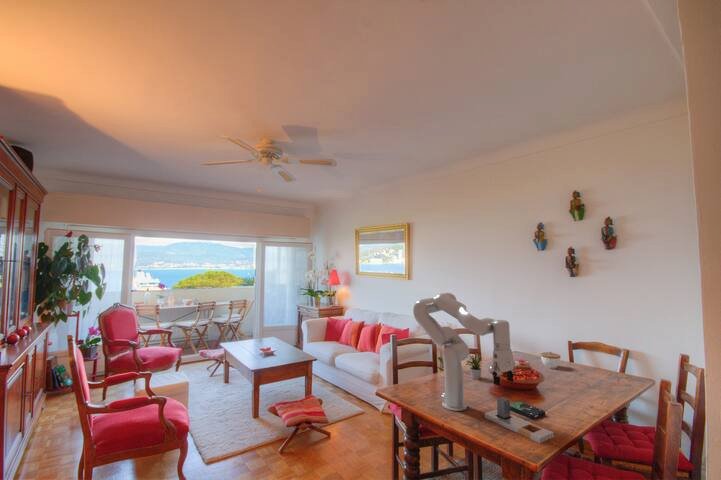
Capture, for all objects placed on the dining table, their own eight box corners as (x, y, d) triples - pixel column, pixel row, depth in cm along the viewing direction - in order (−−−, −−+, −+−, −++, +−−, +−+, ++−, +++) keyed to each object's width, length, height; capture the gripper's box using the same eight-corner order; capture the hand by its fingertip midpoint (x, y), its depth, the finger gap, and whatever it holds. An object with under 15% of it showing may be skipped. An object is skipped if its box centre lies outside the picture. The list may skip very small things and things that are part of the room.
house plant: (464, 373, 234) (463, 348, 235) (485, 375, 230) (484, 350, 231) (463, 379, 221) (463, 354, 222) (486, 382, 216) (485, 355, 218)
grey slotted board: (484, 417, 166) (484, 413, 166) (498, 413, 171) (498, 408, 171) (539, 443, 142) (539, 438, 142) (553, 437, 147) (553, 432, 147)
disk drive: (545, 416, 168) (518, 405, 181) (545, 410, 168) (518, 400, 181) (532, 421, 163) (506, 409, 176) (532, 415, 163) (505, 404, 176)
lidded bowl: (545, 363, 257) (544, 348, 258) (563, 367, 247) (563, 352, 248) (538, 367, 249) (537, 351, 250) (556, 371, 239) (556, 355, 240)
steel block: (497, 420, 163) (496, 398, 164) (503, 418, 165) (502, 396, 166) (504, 423, 160) (504, 401, 160) (510, 421, 162) (509, 399, 162)
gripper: (496, 350, 157) (498, 388, 156) (520, 345, 166) (522, 381, 164) (483, 347, 164) (485, 383, 162) (506, 342, 172) (508, 377, 171)
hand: (503, 382), depth 163 cm, fingers open, 9 cm apart
